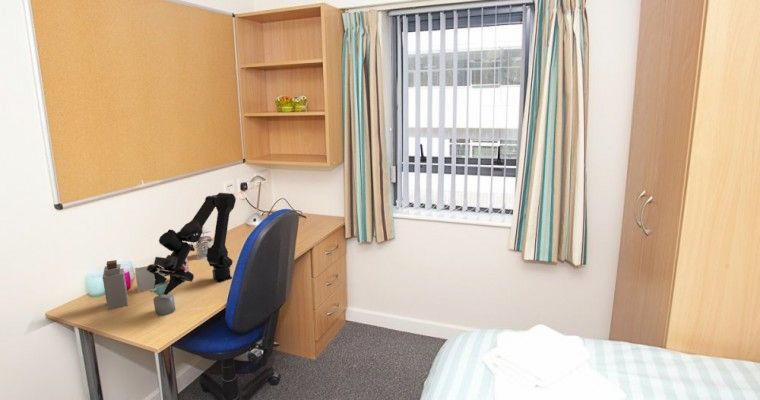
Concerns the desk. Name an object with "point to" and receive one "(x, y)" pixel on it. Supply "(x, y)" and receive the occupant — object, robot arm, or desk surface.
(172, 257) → the robot arm
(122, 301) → the perfume bottle
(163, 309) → the grey rounded lump
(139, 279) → the grey rectangular block
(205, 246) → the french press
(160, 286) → the pump head
